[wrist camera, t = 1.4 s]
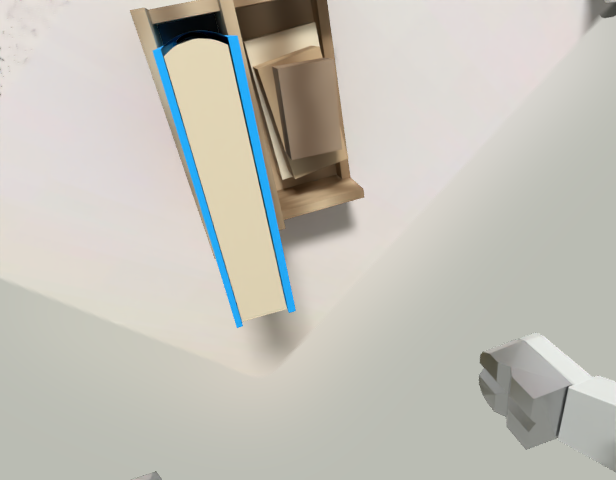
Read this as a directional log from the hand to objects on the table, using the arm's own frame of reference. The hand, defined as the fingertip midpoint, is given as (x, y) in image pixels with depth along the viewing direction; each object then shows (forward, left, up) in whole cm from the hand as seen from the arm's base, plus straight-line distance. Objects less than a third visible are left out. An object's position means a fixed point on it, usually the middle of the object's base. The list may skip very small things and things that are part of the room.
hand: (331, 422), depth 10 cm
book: (0, 0, -40) cm, 40 cm away
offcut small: (-8, 0, -33) cm, 34 cm away
